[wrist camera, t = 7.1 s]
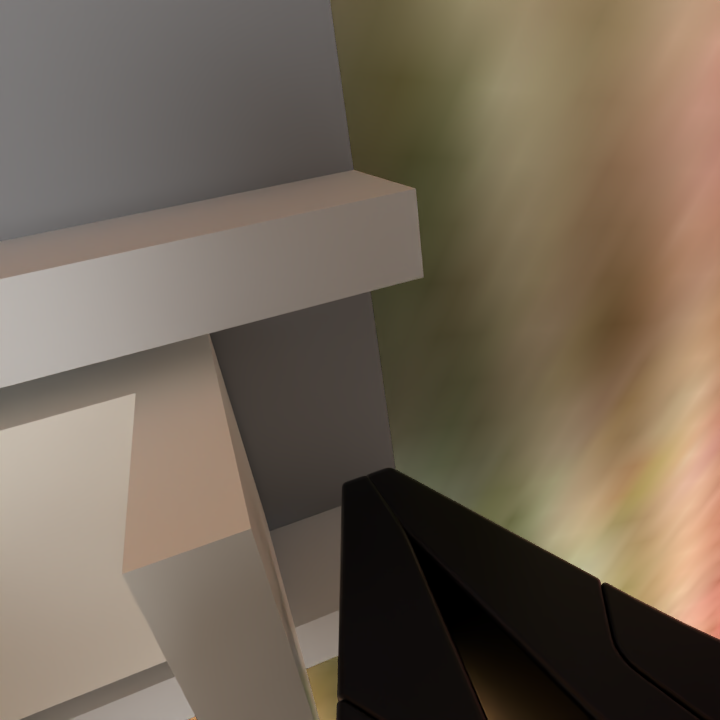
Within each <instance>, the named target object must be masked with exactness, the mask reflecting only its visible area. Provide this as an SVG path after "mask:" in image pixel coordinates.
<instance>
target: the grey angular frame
mask: <svg viewBox="0 0 720 720" xmlns="http://www.w3.org/2000/svg"><path fill="white" fill-rule="evenodd" d="M423 277H424V275H423V264H422V252H421V241H420V230H419V218H418V207H417V196H416V188H412V187H409V186H406V185H402V184H399V183H396V182H392V181H389V180H386V179H383V178H379V177H376V176H373V175H369V174H366V173H363V172H359V171H356V170H354V169H353V161H352V154H351V147H350V140H349V133H348V126H347V119H346V111H345V104H344V97H343V90H342V83H341V76H340V68H339V61H338V54H337V47H336V40H335V33H334V25H333V18H332V11H331V4H330V0H0V388H3V387H6V386H10V385H14V384H18V383H22V382H25V381H29V380H33V379H37V378H41V377H45V376H48V375H52V374H56V373H60V372H64V371H67V370H71V369H75V368H79V367H83V366H87V365H90V364H94V363H98V362H102V361H106V360H110V359H113V358H117V357H121V356H125V355H129V354H132V353H136V352H140V351H144V350H148V349H152V348H155V347H159V346H163V345H167V344H171V343H174V342H178V341H182V340H186V339H190V338H194V337H197V336H201V335H205V334H210V337H211V341H212V344H213V347H214V350H215V354H216V357H217V360H218V364H219V367H220V370H221V373H222V377H223V380H224V383H225V386H226V390H227V393H228V396H229V399H230V403H231V406H232V409H233V413H234V416H235V419H236V422H237V426H238V429H239V432H240V435H241V439H242V442H243V445H244V448H245V452H246V455H247V458H248V462H249V465H250V468H251V471H252V475H253V478H254V481H255V484H256V488H257V491H258V494H259V497H260V501H261V504H262V507H263V511H264V514H265V517H266V521H267V524H268V528H269V532H270V536H271V539H272V543H273V547H274V551H275V554H276V558H277V562H278V566H279V569H280V573H281V577H282V581H283V584H284V588H285V592H286V596H287V599H288V603H289V607H290V611H291V614H292V618H293V622H294V626H295V630H296V633H297V637H298V641H299V645H300V648H301V652H302V656H303V660H304V663H305V667H306V669H307V668H310V667H312V666H314V665H317V664H319V663H321V662H324V661H326V660H328V659H331V658H333V657H335V656H338V642H339V593H340V545H341V496H342V485H343V483H344V482H347V481H350V480H352V479H355V478H358V477H361V476H367V475H368V474H370V473H373V472H376V471H378V470H381V469H384V468H388V467H390V468H394V469H395V462H394V455H393V448H392V441H391V434H390V426H389V419H388V412H387V405H386V398H385V391H384V383H383V376H382V369H381V362H380V355H379V348H378V340H377V333H376V326H375V319H374V312H373V305H372V297H371V291H373V290H377V289H381V288H385V287H388V286H392V285H396V284H400V283H404V282H407V281H411V280H415V279H419V278H423ZM193 717H195V714H194V713H193V711H192V709H191V707H190V705H189V703H188V701H187V699H186V697H185V695H184V693H183V691H182V689H181V687H180V685H179V684H178V682H177V680H176V678H175V676H174V674H173V672H172V670H171V668H170V666H169V664H168V662H167V661H165V662H163V663H160V664H158V665H155V666H153V667H150V668H148V669H145V670H143V671H140V672H138V673H135V674H133V675H130V676H128V677H125V678H123V679H120V680H118V681H115V682H113V683H110V684H108V685H105V686H103V687H100V688H98V689H95V690H92V691H90V692H87V693H85V694H82V695H80V696H77V697H75V698H72V699H70V700H67V701H65V702H62V703H60V704H57V705H55V706H52V707H50V708H47V709H45V710H42V711H40V712H37V713H35V714H32V715H30V716H27V717H25V718H22V719H20V720H188V719H190V718H193Z"/></svg>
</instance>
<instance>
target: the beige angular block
mask: <svg viewBox="0 0 720 720" xmlns="http://www.w3.org/2000/svg"><path fill="white" fill-rule="evenodd" d="M165 661H167V662H168V664H169V666H170V668H171V670H172V672H173V674H174V676H175V678H176V680H177V682H178V684H179V685H180V687H181V689H182V691H183V693H184V695H185V697H186V699H187V701H188V703H189V705H190V707H191V709H192V711H193V713H194V714H195V716H196V718H197V720H319V716H318V712H317V708H316V705H315V701H314V697H313V693H312V690H311V686H310V682H309V678H308V675H307V671H306V667H305V663H304V660H303V656H302V652H301V648H300V645H299V641H298V637H297V633H296V630H295V626H294V622H293V618H292V614H291V611H290V607H289V603H288V599H287V596H286V592H285V588H284V584H283V581H282V577H281V573H280V569H279V566H278V562H277V558H276V554H275V551H274V547H273V543H272V539H271V536H270V532H269V528H268V524H267V521H266V517H265V514H264V511H263V507H262V504H261V501H260V497H259V494H258V491H257V488H256V484H255V481H254V478H253V475H252V471H251V468H250V465H249V462H248V458H247V455H246V452H245V448H244V445H243V442H242V439H241V435H240V432H239V429H238V426H237V422H236V419H235V416H234V413H233V409H232V406H231V403H230V399H229V396H228V393H227V390H226V386H225V383H224V380H223V377H222V373H221V370H220V367H219V364H218V360H217V357H216V354H215V350H214V347H213V344H212V341H211V337H210V334H205V335H201V336H197V337H194V338H190V339H186V340H182V341H178V342H174V343H171V344H167V345H163V346H159V347H155V348H152V349H148V350H144V351H140V352H136V353H132V354H129V355H125V356H121V357H117V358H113V359H110V360H106V361H102V362H98V363H94V364H90V365H87V366H83V367H79V368H75V369H71V370H67V371H64V372H60V373H56V374H52V375H48V376H45V377H41V378H37V379H33V380H29V381H25V382H22V383H18V384H14V385H10V386H6V387H3V388H0V720H20V719H22V718H25V717H27V716H30V715H32V714H35V713H37V712H40V711H42V710H45V709H47V708H50V707H52V706H55V705H57V704H60V703H62V702H65V701H67V700H70V699H72V698H75V697H77V696H80V695H82V694H85V693H87V692H90V691H92V690H95V689H98V688H100V687H103V686H105V685H108V684H110V683H113V682H115V681H118V680H120V679H123V678H125V677H128V676H130V675H133V674H135V673H138V672H140V671H143V670H145V669H148V668H150V667H153V666H155V665H158V664H160V663H163V662H165Z"/></svg>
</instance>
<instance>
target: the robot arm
mask: <svg viewBox="0 0 720 720" xmlns="http://www.w3.org/2000/svg"><path fill="white" fill-rule="evenodd" d="M337 697H338V701H339V702H338V703H337V718H336V720H720V639H717V638H715V637H713V636H711V635H709V634H707V633H704V632H702V631H700V630H698V629H696V628H694V627H691V626H689V625H687V624H685V623H683V622H681V621H679V620H677V619H675V618H673V617H671V616H669V615H667V614H665V613H663V612H661V611H659V610H657V609H656V608H654V607H652V606H650V605H648V604H646V603H644V602H642V601H640V600H638V599H636V598H634V597H632V596H630V595H628V594H627V593H625V592H623V591H621V590H619V589H617V588H615V587H614V586H612V585H610V584H608V583H603V584H602V585H601V582H600V580H599V579H598V578H596V577H595V576H593V575H591V574H589V573H587V572H585V571H583V570H581V569H580V568H578V567H576V566H574V565H572V564H570V563H568V562H567V561H565V560H563V559H561V558H559V557H557V556H555V555H554V554H552V553H550V552H548V551H546V550H544V549H542V548H541V547H539V546H537V545H535V544H533V543H531V542H529V541H528V540H526V539H524V538H522V537H520V536H518V535H516V534H515V533H513V532H511V531H509V530H507V529H505V528H503V527H502V526H500V525H498V524H496V523H494V522H492V521H490V520H489V519H487V518H485V517H483V516H481V515H479V514H477V513H476V512H474V511H472V510H470V509H468V508H466V507H464V506H463V505H461V504H459V503H457V502H455V501H453V500H451V499H450V498H448V497H446V496H444V495H442V494H440V493H438V492H437V491H435V490H433V489H431V488H429V487H427V486H425V485H424V484H422V483H420V482H418V481H416V480H414V479H412V478H411V477H409V476H407V475H405V474H403V473H401V472H399V471H398V470H396V469H394V468H390V467H388V468H384V469H381V470H378V471H376V472H373V473H370V474H368V475H367V476H361V477H358V478H355V479H352V480H350V481H347V482H344V483H343V485H342V496H341V545H340V593H339V642H338V690H337Z"/></svg>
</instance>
